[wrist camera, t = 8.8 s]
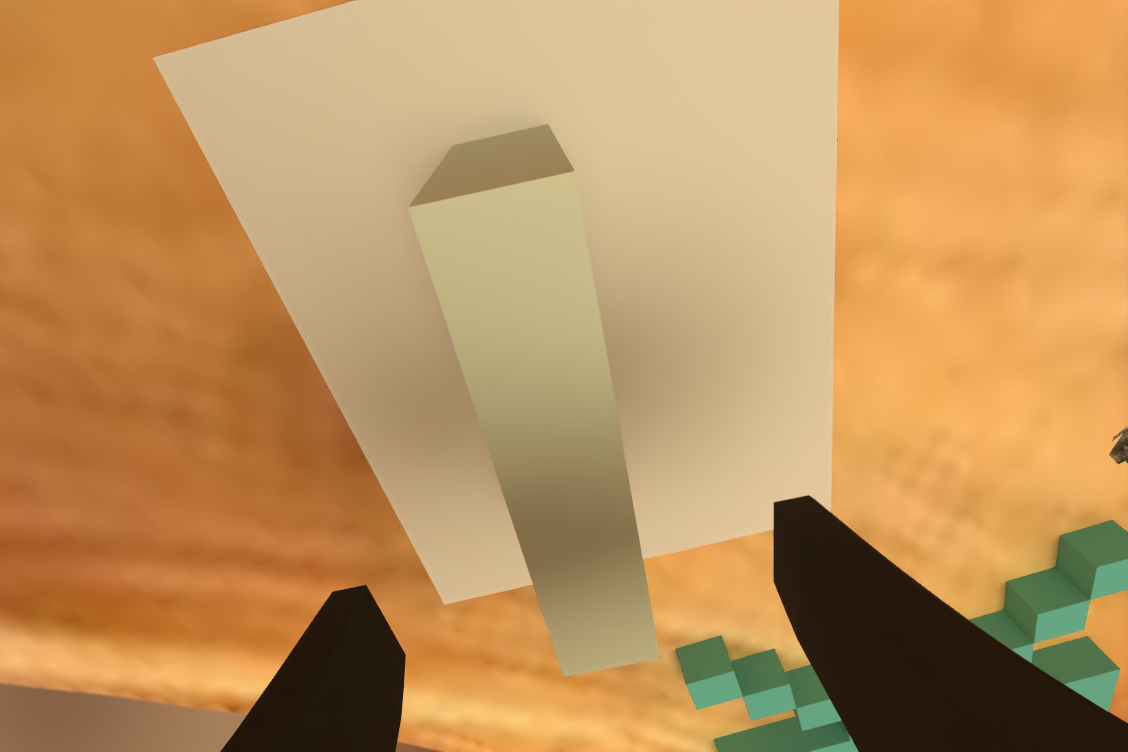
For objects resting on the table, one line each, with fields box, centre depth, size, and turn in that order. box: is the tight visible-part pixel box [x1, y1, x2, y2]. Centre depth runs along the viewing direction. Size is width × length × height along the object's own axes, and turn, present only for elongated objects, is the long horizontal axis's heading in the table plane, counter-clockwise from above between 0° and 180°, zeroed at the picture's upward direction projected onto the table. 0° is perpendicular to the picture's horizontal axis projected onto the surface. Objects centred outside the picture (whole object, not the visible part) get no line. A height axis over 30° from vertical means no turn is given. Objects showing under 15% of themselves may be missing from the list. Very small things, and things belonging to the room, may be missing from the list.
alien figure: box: [676, 520, 1128, 752], centre depth 30 cm, size 20×2×20 cm
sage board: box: [408, 124, 660, 677], centre depth 14 cm, size 2×12×7 cm, turn 11°
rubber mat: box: [153, 0, 839, 605], centre depth 18 cm, size 16×20×1 cm
